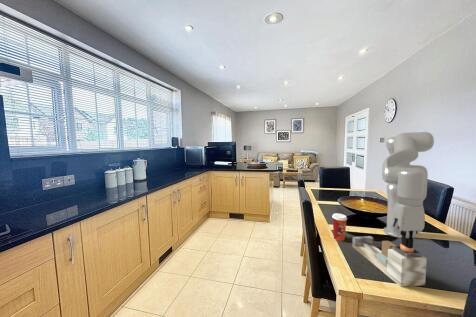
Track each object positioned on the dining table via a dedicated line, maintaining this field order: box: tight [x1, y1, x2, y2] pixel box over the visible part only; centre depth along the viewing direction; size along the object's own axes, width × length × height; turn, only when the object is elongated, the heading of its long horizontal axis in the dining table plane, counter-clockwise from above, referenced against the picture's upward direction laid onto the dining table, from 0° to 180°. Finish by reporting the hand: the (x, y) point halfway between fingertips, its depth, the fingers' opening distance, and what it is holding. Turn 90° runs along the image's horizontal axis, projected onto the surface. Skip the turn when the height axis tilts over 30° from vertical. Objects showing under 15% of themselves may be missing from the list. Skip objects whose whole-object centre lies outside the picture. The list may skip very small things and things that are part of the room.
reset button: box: [399, 243, 415, 253], centre depth 75 cm, size 4×4×2 cm
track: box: [351, 235, 428, 288], centre depth 86 cm, size 10×28×13 cm, turn 3°
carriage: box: [376, 240, 396, 266], centre depth 84 cm, size 7×5×9 cm
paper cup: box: [331, 212, 348, 242], centre depth 109 cm, size 8×8×14 cm
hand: (407, 246), depth 75 cm, fingers closed
